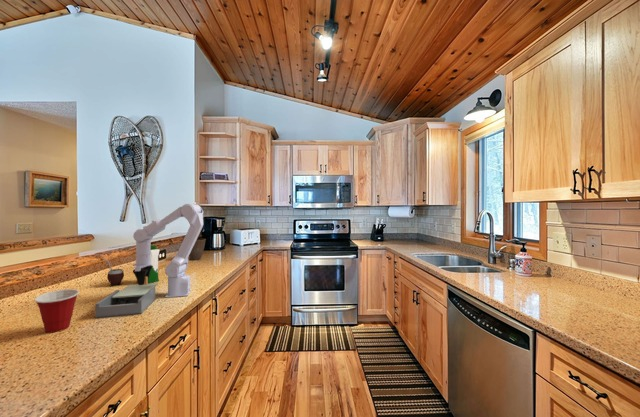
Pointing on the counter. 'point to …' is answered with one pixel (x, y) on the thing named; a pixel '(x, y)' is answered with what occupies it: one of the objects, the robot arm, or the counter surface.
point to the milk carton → (154, 265)
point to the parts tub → (123, 305)
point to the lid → (135, 290)
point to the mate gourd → (115, 276)
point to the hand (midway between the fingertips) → (143, 283)
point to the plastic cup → (57, 308)
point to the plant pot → (197, 249)
